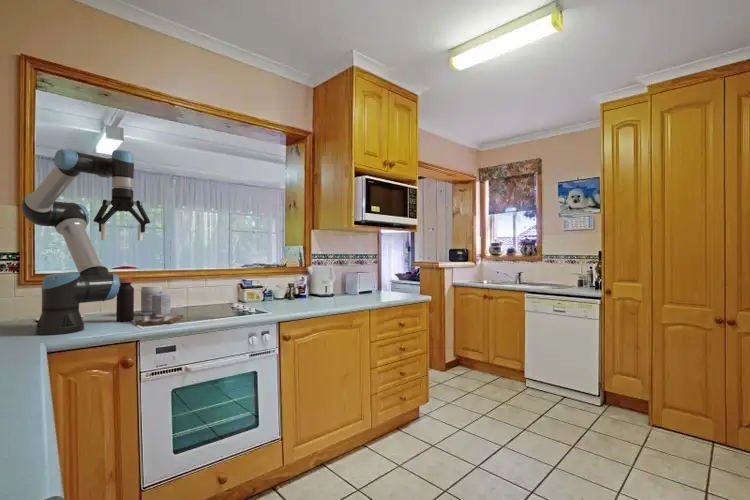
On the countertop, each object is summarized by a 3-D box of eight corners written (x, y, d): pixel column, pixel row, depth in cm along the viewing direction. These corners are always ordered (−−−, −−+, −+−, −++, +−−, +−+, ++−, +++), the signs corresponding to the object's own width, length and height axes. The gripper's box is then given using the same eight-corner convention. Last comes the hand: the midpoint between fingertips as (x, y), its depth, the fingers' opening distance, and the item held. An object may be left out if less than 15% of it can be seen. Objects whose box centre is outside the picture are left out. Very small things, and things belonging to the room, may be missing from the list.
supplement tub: (164, 314, 199) (165, 286, 199) (143, 316, 192) (144, 287, 192) (159, 312, 206) (159, 284, 206) (138, 314, 199) (138, 285, 199)
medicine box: (170, 314, 178) (170, 295, 178) (160, 315, 175) (161, 296, 175) (161, 312, 183) (161, 294, 183) (151, 313, 179) (151, 295, 179)
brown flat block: (135, 325, 168) (135, 317, 168) (151, 318, 186) (151, 311, 186) (170, 324, 171) (170, 316, 171) (183, 318, 188) (183, 310, 189)
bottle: (117, 322, 175) (118, 278, 176) (115, 320, 181) (115, 277, 181) (134, 320, 180) (135, 277, 180) (132, 319, 185) (132, 277, 185)
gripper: (158, 191, 166) (158, 240, 165) (93, 189, 161) (93, 240, 161) (152, 188, 158) (151, 240, 158) (83, 186, 154) (83, 239, 154)
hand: (122, 240), depth 160 cm, fingers open, 13 cm apart
